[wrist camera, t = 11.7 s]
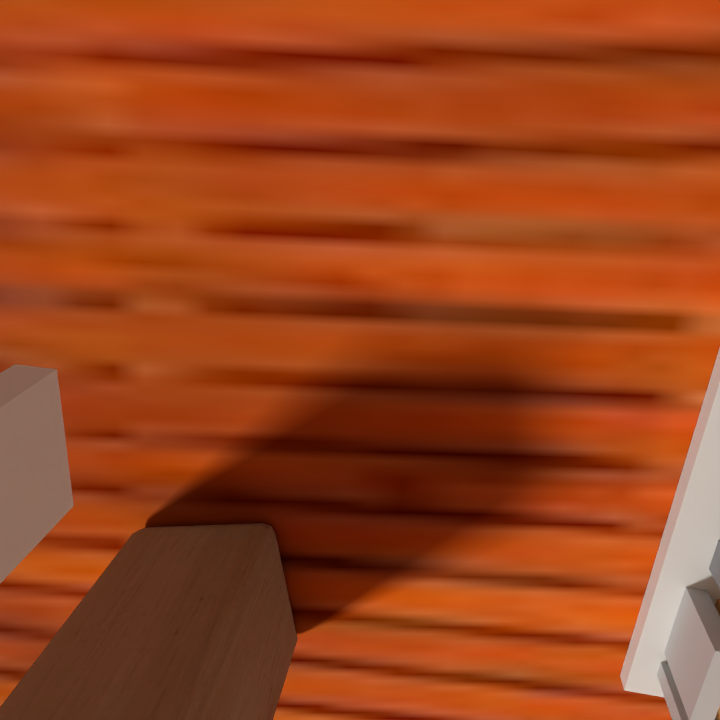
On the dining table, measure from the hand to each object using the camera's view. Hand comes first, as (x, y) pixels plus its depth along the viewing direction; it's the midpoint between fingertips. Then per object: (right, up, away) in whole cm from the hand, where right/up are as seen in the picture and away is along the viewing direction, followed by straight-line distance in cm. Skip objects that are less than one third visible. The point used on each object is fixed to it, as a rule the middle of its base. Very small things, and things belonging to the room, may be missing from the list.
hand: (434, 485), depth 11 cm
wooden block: (-11, -13, +35) cm, 39 cm away
